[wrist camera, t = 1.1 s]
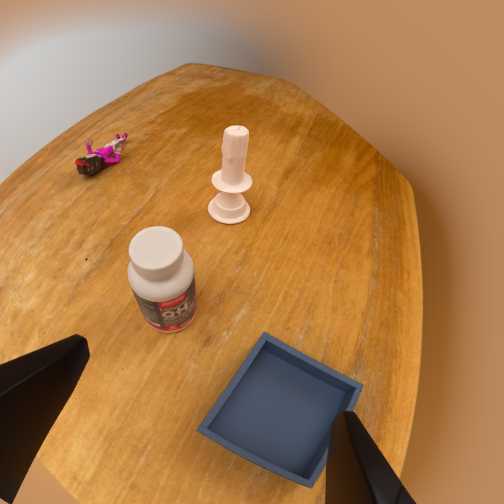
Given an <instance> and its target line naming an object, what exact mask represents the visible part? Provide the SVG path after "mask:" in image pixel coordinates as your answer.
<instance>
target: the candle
mask: <svg viewBox="0 0 504 504" xmlns="http://www.w3.org/2000/svg"><path fill="white" fill-rule="evenodd" d="M248 140H249V131H248V129H246V128H245V127H244V126H230V127H228V128H226V129H225V131H224V136H223V144H222V148H221V150H222V154H223V160H222V170H219V171H217V172H216V173H215V174H214V175H213V176H212V183H213V185H214V186H215V187H216V188H217V189H218V190H220V191H221V192H220V193H218V194H217V195H216V197H215V198H214V199H212V200H211V201H210V203H209V205H208V212H209V214H210V215H211V217H212V218H213V219H215V220H216V221H218V222H221V223H225V224H236V223H239V222H242V221H244V220H245V219H246V218H247V217H248V216H249V214H250V207H249V205H248V203H247V202H246V201H245V198H244V197H243V196H242V195H241V194H240V193H241V192H244V191H246V190H248V189H249V188H250V187H251V185H252V179H251V177H250V176H249V175H248V174H247V173H246V172H244V170H245V162H246V155H247V148H248Z"/></svg>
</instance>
